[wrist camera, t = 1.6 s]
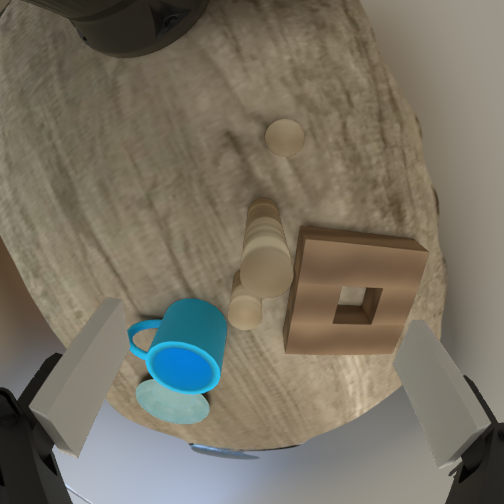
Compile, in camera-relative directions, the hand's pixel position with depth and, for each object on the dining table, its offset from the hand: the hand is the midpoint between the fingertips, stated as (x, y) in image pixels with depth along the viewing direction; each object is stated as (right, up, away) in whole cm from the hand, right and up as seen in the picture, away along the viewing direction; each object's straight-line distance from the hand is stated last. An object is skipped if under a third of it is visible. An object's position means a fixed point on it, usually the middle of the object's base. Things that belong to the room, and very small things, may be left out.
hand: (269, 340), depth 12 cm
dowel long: (0, +8, +18) cm, 20 cm away
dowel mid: (-1, +1, +21) cm, 21 cm away
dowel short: (+2, +15, +15) cm, 22 cm away
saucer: (-13, -19, +30) cm, 38 cm away
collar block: (+11, -1, +22) cm, 24 cm away
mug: (-10, -5, +24) cm, 27 cm away
